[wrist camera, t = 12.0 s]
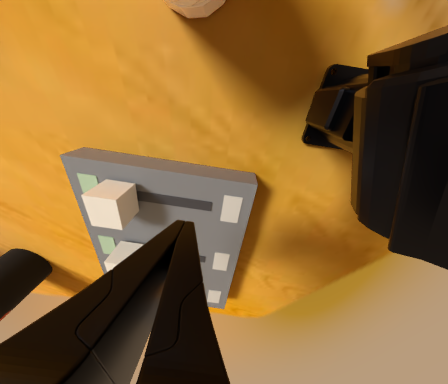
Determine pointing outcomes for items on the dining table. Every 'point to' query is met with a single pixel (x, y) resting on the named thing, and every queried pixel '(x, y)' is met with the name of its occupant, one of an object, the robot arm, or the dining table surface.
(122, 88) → the dining table surface
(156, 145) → the dining table surface
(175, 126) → the dining table surface
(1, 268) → the wine bottle
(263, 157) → the dining table surface
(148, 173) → the grey slider switch panel
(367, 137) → the robot arm
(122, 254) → the block
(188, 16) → the white cup
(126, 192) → the block
